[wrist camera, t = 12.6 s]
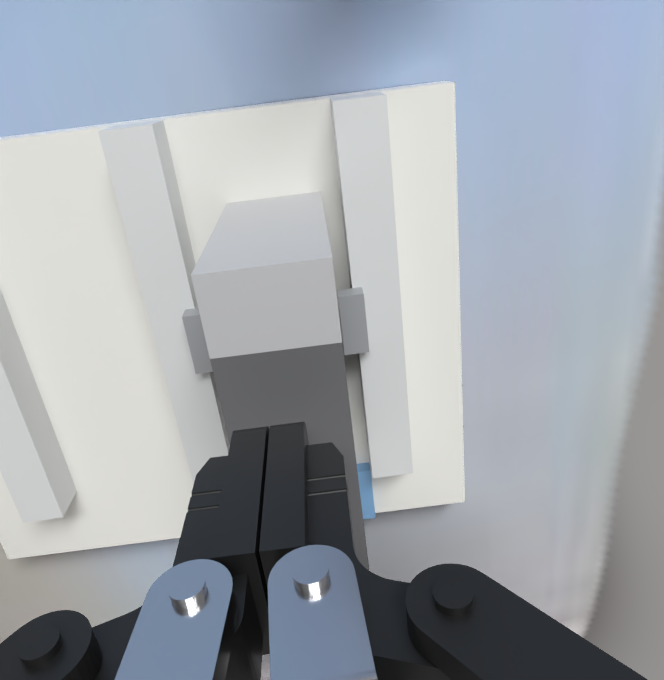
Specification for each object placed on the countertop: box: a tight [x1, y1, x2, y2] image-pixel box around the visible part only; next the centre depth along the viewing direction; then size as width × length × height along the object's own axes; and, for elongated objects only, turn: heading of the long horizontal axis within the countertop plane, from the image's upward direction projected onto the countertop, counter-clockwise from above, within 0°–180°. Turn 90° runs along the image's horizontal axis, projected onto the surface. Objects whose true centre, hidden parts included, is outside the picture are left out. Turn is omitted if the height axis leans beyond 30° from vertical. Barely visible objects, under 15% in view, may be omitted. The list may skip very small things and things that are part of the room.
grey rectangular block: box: [191, 191, 369, 570], centre depth 18 cm, size 3×9×7 cm, turn 6°
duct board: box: [0, 81, 465, 559], centre depth 21 cm, size 19×16×4 cm
